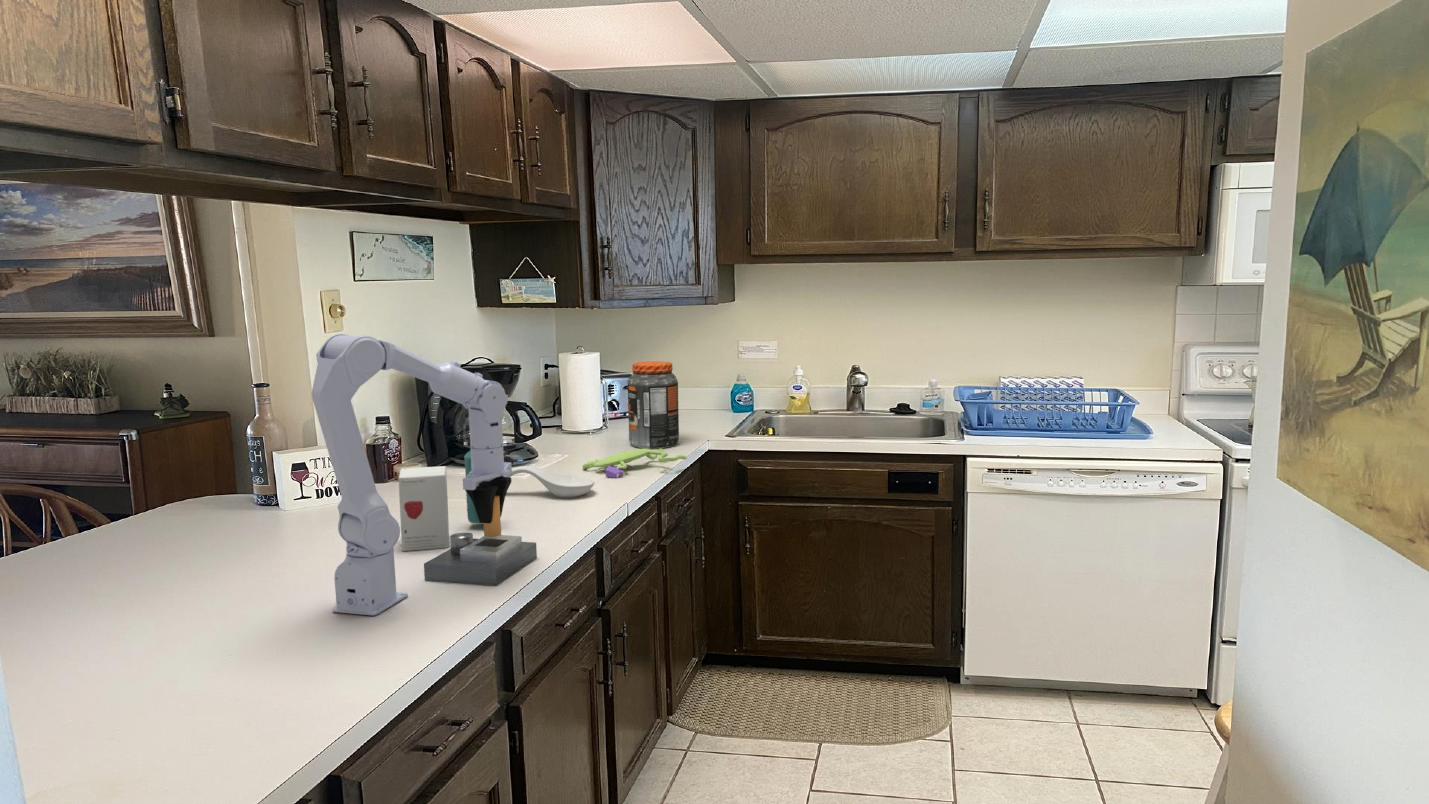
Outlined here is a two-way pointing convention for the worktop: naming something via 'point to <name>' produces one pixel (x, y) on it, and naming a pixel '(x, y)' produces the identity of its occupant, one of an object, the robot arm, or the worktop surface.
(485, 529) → the pin
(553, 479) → the spoon rest
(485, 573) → the grey peg socket block
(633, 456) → the figurine
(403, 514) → the supplement box
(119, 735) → the worktop surface
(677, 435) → the supplement tub
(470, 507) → the beverage bottle
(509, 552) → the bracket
